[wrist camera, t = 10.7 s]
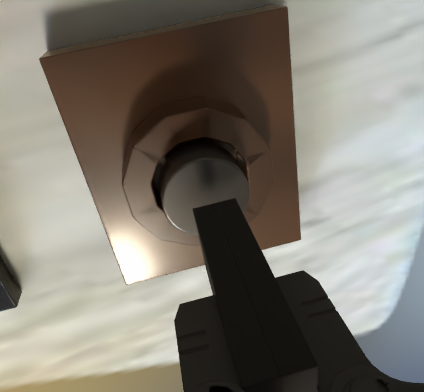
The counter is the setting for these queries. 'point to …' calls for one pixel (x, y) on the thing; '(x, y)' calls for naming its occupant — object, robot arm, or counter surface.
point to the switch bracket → (8, 288)
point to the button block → (181, 126)
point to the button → (199, 182)
